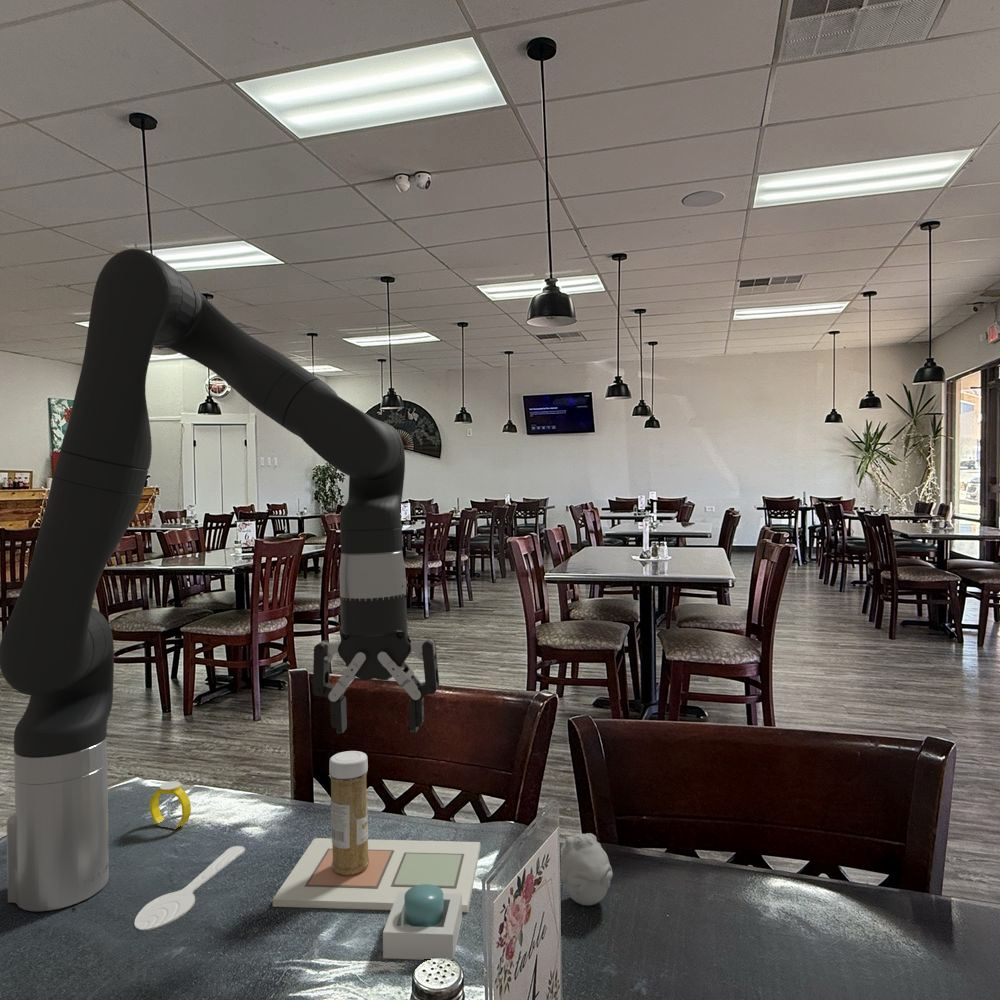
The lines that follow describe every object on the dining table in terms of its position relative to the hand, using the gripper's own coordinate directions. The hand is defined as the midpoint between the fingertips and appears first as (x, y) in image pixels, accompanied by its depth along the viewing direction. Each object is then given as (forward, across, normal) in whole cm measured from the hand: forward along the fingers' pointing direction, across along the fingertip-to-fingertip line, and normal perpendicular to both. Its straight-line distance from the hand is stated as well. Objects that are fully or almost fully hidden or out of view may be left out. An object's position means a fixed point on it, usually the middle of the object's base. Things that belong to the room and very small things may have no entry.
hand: (378, 730), depth 81 cm
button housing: (+19, +6, -8) cm, 21 cm away
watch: (+18, -33, +15) cm, 41 cm away
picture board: (+19, -1, +3) cm, 19 cm away
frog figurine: (+19, +23, -1) cm, 30 cm away
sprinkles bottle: (+18, -5, +4) cm, 19 cm away
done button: (+17, +6, -8) cm, 20 cm away
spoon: (+19, -23, +1) cm, 30 cm away
